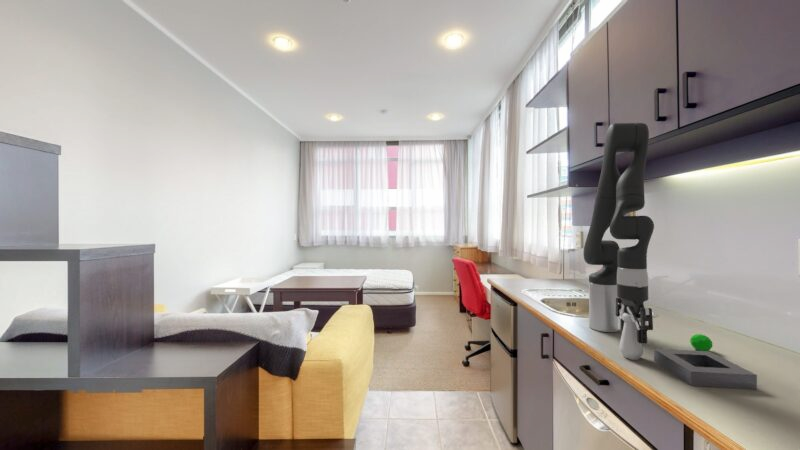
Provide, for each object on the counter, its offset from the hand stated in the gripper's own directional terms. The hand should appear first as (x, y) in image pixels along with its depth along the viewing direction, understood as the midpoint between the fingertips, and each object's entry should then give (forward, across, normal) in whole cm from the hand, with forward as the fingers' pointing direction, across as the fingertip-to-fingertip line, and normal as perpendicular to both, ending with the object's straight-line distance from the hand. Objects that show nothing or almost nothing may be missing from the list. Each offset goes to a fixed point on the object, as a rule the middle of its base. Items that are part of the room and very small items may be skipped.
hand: (633, 337), depth 94 cm
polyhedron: (+6, -8, +24) cm, 26 cm away
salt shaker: (+6, 0, 0) cm, 6 cm away
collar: (+6, +9, +12) cm, 16 cm away
